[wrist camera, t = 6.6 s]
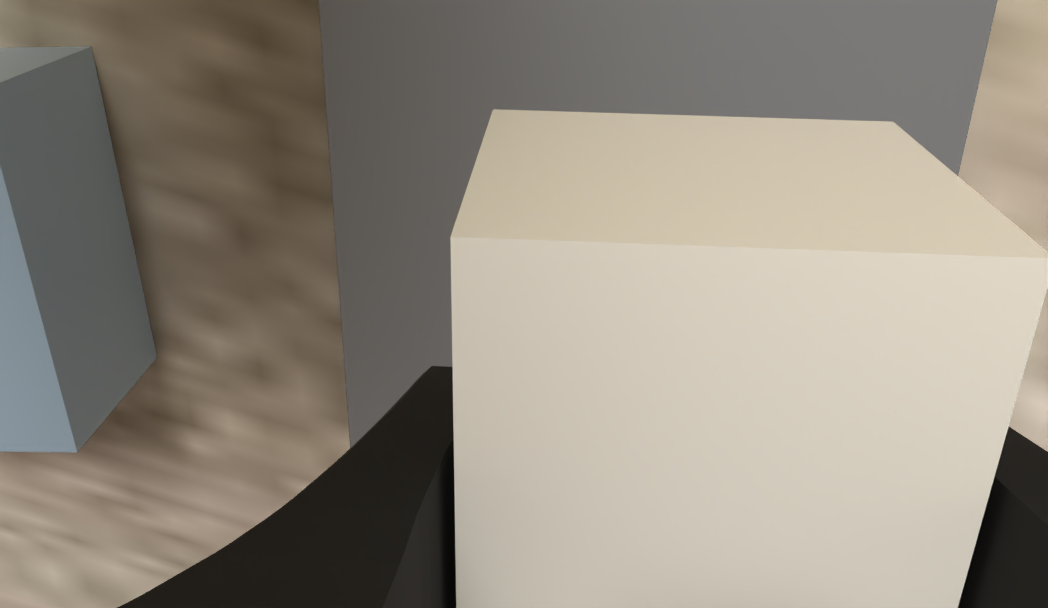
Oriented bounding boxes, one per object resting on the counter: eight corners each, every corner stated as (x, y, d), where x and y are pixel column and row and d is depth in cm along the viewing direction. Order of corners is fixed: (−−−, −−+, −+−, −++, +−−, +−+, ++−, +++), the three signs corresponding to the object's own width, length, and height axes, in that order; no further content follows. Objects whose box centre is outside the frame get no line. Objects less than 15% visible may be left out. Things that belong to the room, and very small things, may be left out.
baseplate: (878, 449, 22) (891, 474, 21) (359, 425, 22) (350, 450, 21) (1001, -125, 17) (1024, -123, 16) (323, -139, 17) (308, -138, 16)
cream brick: (802, 601, 14) (883, 870, 10) (491, 585, 14) (459, 844, 10) (893, 122, 11) (1056, 259, 7) (493, 109, 11) (450, 236, 7)
